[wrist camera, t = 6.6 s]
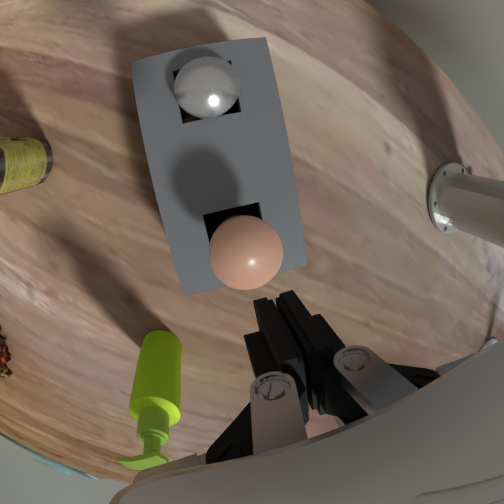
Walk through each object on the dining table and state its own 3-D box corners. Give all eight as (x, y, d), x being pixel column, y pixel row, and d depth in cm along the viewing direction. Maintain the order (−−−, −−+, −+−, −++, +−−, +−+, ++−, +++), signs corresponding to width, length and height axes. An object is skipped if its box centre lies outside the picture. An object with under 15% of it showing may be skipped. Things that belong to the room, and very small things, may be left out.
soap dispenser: (129, 341, 38) (102, 454, 19) (167, 323, 38) (156, 443, 19) (151, 368, 40) (140, 479, 21) (188, 352, 40) (193, 469, 21)
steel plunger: (225, 76, 26) (234, 52, 19) (234, 121, 27) (246, 109, 20) (175, 86, 25) (169, 63, 18) (184, 131, 27) (180, 122, 20)
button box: (247, 68, 29) (265, 37, 20) (279, 237, 37) (307, 265, 28) (148, 87, 28) (129, 62, 19) (187, 260, 36) (184, 296, 26)
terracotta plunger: (255, 197, 27) (276, 212, 20) (265, 249, 28) (287, 279, 21) (200, 210, 26) (202, 229, 19) (213, 261, 28) (219, 297, 21)
